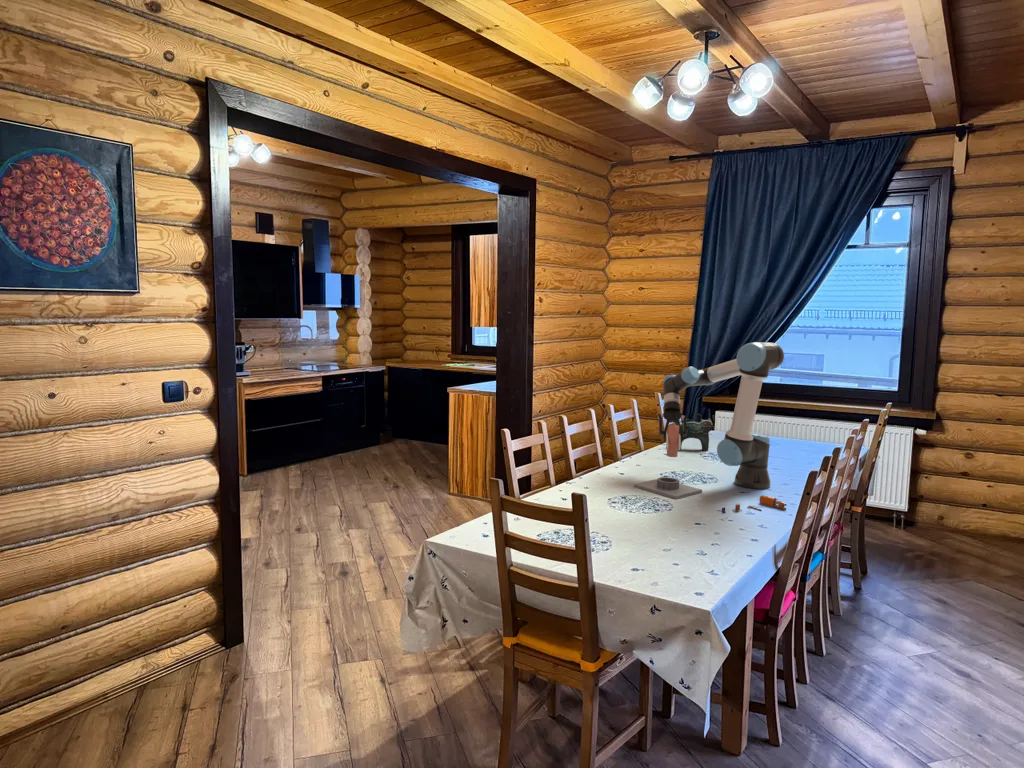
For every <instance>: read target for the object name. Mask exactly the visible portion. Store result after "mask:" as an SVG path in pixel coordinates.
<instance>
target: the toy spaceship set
mask: <svg viewBox="0 0 1024 768" xmlns="http://www.w3.org/2000/svg"><path fill="white" fill-rule="evenodd" d="M740 504H741V503H737V504H735V506H734V507H735V508H733V509H732V512H733V511H735V512H738V513H739V512H742V511H743V510H742V509H741V505H740ZM759 504H760V505H764V506H767V507H771V508H777V509H780V510H787V505H788V504H787V503H785V502H784V501H781V500H779V498H776V497H771V496H768V495H764V494H763V495H760V496H759ZM746 508H747V509H749V510H751V509H754V510H756V511H759V512H762V511H763V510H762V509H760V508H758V507H756V506H755V505H748V506H747V507H746ZM726 512H727V511H726V507H725V506H724V507H722V508H721V514H726ZM713 517H714V516H713ZM726 519H727V517H726V518H725V519H724V520H726ZM718 521H723V518H721V519H718Z"/></svg>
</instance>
